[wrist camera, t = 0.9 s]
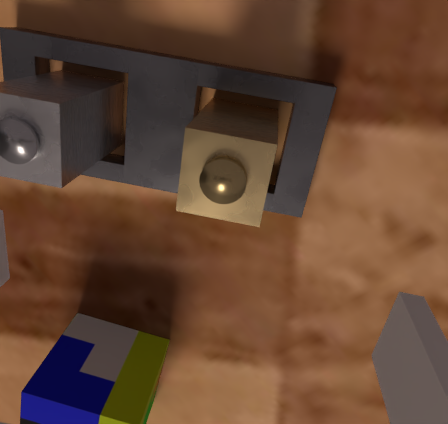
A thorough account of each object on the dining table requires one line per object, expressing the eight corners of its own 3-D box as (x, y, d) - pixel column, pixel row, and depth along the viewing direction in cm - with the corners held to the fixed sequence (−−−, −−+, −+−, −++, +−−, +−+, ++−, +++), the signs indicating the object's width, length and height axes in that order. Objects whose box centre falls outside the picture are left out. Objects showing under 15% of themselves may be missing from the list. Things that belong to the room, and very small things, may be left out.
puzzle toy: (77, 312, 41) (21, 391, 32) (169, 339, 41) (139, 426, 32) (70, 377, 45) (18, 463, 36) (153, 402, 45) (122, 494, 36)
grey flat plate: (25, 153, 34) (10, 160, 32) (16, 27, 30) (-1, 27, 28) (300, 207, 33) (301, 217, 31) (333, 83, 29) (336, 87, 27)
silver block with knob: (63, 132, 33) (-24, 175, 23) (62, 70, 31) (-35, 88, 21) (121, 144, 33) (57, 191, 23) (124, 81, 30) (54, 105, 21)
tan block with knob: (204, 159, 32) (173, 214, 23) (213, 97, 30) (183, 129, 21) (264, 171, 32) (258, 231, 23) (278, 109, 30) (277, 147, 20)
